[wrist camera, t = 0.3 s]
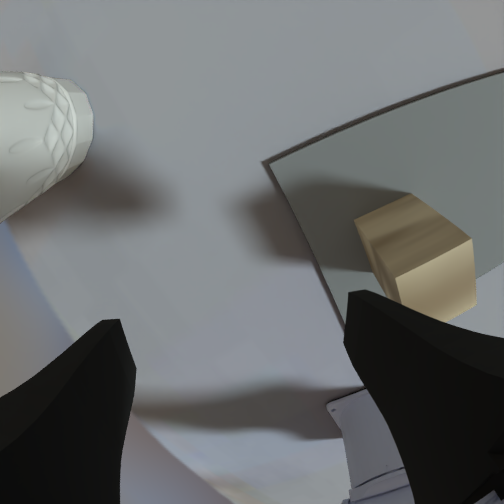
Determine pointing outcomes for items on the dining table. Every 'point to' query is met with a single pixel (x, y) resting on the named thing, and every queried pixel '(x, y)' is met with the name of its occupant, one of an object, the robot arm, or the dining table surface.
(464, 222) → the rubber mat
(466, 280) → the maple block
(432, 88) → the dining table surface
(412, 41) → the dining table surface
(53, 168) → the white cup
